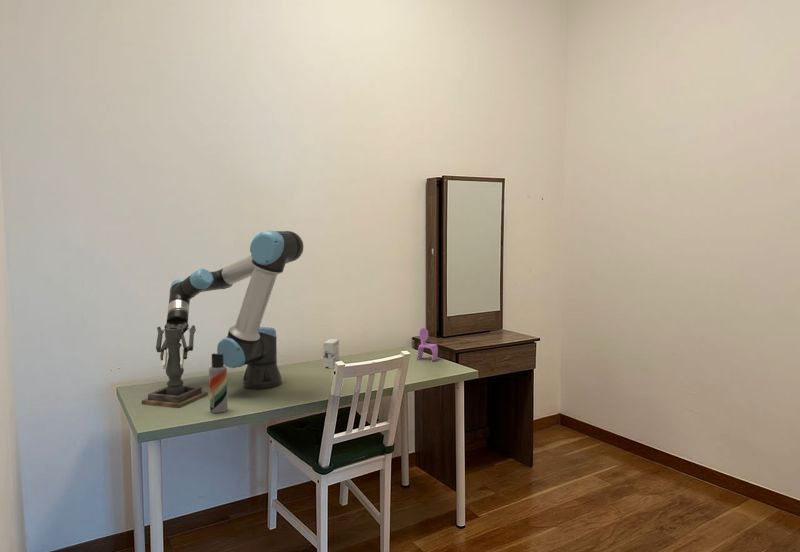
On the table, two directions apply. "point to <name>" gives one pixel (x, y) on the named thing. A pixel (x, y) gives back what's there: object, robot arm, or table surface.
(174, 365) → the candle holder
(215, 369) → the lotion bottle
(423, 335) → the toy chair
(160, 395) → the socket plate
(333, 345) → the ink box
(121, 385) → the table surface
